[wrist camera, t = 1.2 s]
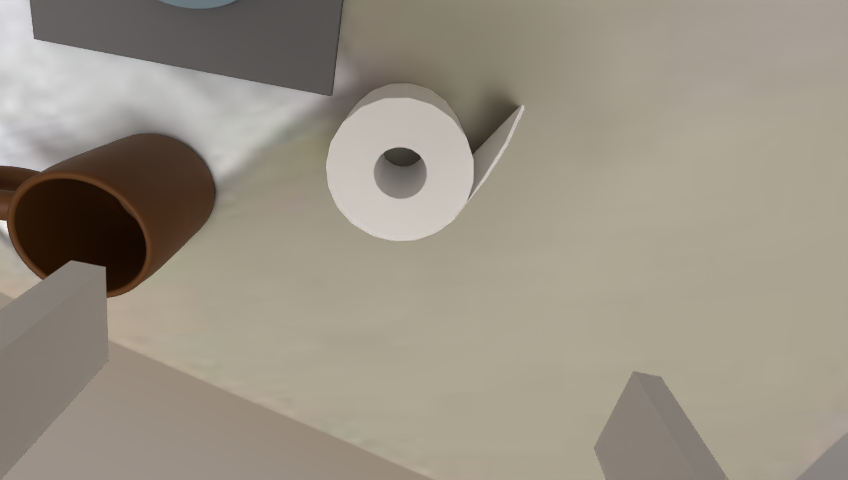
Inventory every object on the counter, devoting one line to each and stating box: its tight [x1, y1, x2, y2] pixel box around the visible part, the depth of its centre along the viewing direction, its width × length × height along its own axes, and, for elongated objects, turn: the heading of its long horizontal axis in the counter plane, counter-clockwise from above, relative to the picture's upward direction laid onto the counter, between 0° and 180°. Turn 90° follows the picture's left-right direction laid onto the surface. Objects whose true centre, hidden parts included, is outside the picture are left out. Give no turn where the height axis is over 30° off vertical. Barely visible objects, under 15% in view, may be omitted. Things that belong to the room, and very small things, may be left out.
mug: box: [0, 134, 215, 298], centre depth 30 cm, size 12×8×9 cm, turn 72°
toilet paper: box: [326, 83, 525, 241], centre depth 30 cm, size 8×11×7 cm
